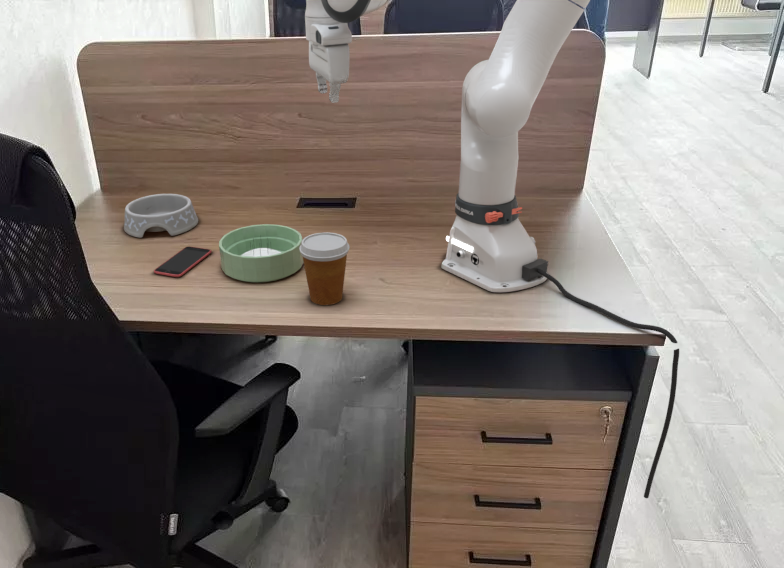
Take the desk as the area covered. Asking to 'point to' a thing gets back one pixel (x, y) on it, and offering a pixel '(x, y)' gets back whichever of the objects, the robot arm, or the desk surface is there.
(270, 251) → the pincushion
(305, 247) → the disposable coffee cup
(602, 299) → the desk surface
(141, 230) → the dog bowl
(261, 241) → the bowl
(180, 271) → the smartphone
